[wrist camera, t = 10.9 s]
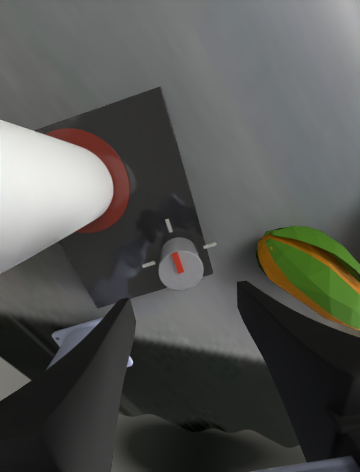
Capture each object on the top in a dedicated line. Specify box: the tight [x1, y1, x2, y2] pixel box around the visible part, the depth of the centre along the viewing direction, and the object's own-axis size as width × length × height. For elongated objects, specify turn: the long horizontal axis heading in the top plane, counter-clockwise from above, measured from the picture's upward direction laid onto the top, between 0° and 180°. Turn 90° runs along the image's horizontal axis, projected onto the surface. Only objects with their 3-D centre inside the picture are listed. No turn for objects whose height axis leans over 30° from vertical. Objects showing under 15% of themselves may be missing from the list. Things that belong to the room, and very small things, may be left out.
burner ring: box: [45, 128, 130, 233], centre depth 16 cm, size 9×9×1 cm
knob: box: [158, 237, 204, 291], centre depth 17 cm, size 4×4×4 cm
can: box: [0, 120, 113, 274], centre depth 10 cm, size 6×6×12 cm
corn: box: [256, 226, 360, 330], centre depth 20 cm, size 7×8×20 cm
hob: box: [35, 87, 216, 308], centre depth 18 cm, size 19×15×3 cm
